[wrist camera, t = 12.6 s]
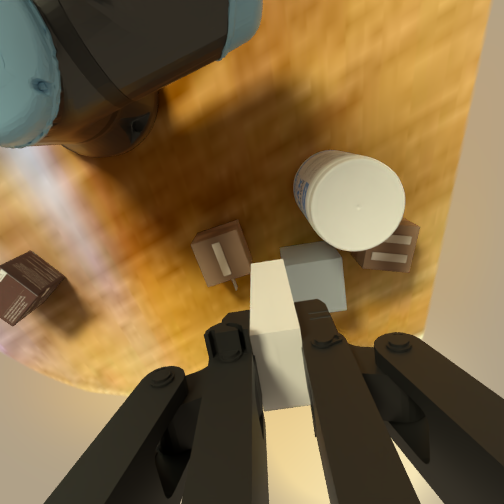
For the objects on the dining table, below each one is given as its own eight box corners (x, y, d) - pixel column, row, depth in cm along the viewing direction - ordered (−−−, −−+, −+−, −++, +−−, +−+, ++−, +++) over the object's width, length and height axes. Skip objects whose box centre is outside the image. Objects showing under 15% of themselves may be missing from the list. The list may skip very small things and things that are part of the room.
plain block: (286, 292, 55) (291, 318, 47) (279, 247, 53) (283, 266, 45) (333, 285, 55) (347, 310, 47) (329, 239, 53) (341, 257, 45)
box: (42, 304, 56) (12, 328, 49) (7, 278, 54) (-29, 298, 47) (66, 276, 54) (38, 296, 47) (31, 248, 53) (-3, 265, 46)
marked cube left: (218, 285, 55) (214, 303, 49) (197, 232, 52) (190, 245, 46) (257, 272, 54) (257, 289, 48) (238, 219, 52) (236, 229, 46)
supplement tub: (278, 178, 50) (288, 195, 36) (338, 134, 48) (373, 133, 34) (318, 235, 52) (343, 271, 38) (377, 194, 51) (425, 216, 37)
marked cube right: (350, 255, 53) (362, 270, 47) (358, 212, 51) (372, 222, 46) (392, 259, 53) (409, 274, 47) (401, 216, 52) (420, 227, 46)
